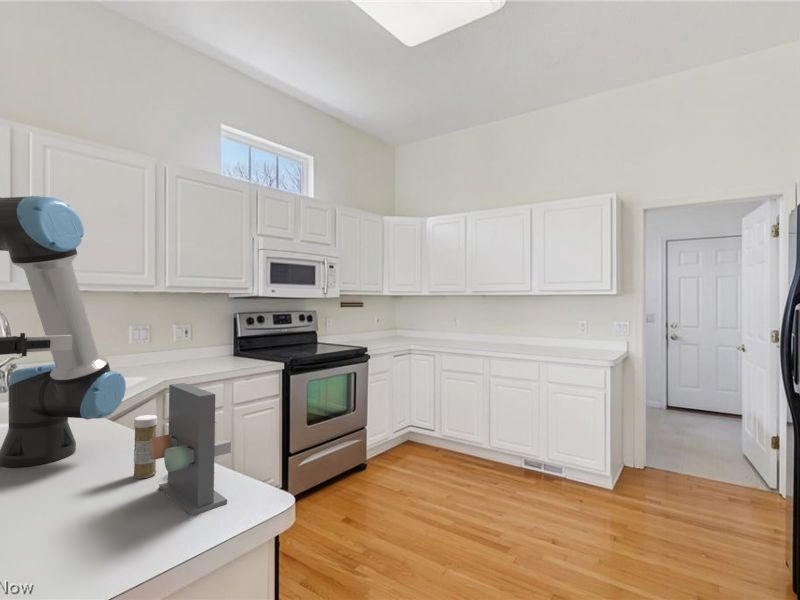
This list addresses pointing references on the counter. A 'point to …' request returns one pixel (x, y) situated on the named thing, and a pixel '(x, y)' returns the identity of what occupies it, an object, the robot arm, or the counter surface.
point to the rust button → (160, 446)
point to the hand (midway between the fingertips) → (71, 342)
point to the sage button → (190, 455)
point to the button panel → (194, 430)
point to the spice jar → (144, 446)
